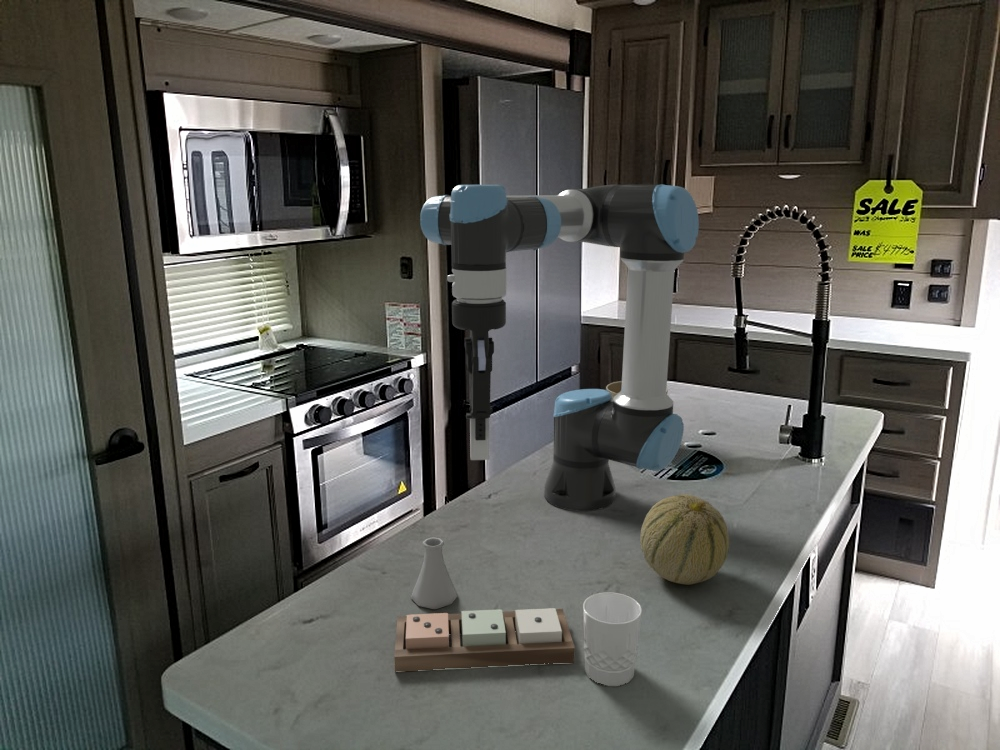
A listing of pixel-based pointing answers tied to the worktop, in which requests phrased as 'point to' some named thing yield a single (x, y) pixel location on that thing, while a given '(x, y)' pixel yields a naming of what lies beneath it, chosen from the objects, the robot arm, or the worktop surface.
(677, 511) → the cantaloupe
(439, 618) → the three-pip tile
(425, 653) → the board
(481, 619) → the tile
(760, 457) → the worktop surface
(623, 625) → the white cup
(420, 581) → the flask
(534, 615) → the tile
